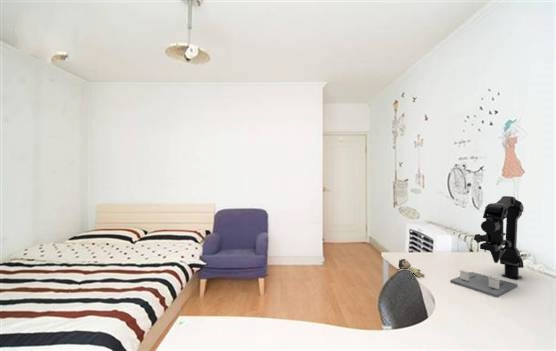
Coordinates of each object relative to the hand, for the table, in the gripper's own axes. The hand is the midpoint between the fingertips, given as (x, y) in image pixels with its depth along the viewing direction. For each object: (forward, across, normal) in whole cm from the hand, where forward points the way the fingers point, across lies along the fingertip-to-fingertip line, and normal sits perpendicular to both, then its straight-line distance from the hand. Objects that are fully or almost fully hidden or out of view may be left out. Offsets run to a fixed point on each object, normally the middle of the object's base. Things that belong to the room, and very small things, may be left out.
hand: (495, 262), depth 133 cm
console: (+12, +1, -5) cm, 13 cm away
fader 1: (+11, +6, -11) cm, 16 cm away
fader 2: (+11, +5, +1) cm, 12 cm away
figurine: (+13, +16, -34) cm, 40 cm away
